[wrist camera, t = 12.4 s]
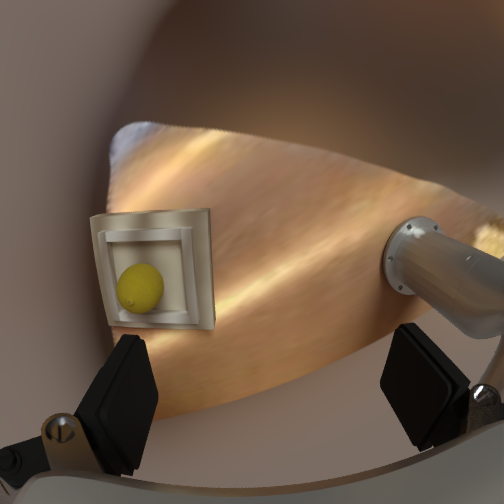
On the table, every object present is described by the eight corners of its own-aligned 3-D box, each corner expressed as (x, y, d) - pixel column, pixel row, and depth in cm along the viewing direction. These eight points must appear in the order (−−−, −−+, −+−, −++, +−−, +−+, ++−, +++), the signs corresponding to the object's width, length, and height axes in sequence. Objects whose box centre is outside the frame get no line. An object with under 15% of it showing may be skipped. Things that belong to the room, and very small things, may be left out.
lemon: (178, 275, 35) (163, 303, 27) (154, 302, 36) (136, 334, 28) (146, 246, 34) (122, 267, 26) (123, 276, 35) (98, 301, 27)
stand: (210, 208, 36) (205, 213, 31) (215, 318, 40) (213, 335, 36) (99, 213, 35) (84, 219, 31) (116, 316, 40) (105, 330, 35)
